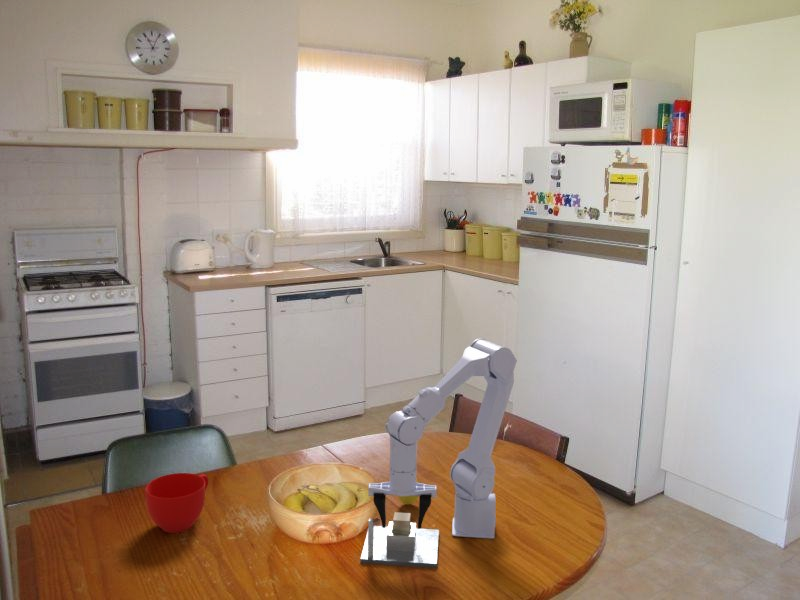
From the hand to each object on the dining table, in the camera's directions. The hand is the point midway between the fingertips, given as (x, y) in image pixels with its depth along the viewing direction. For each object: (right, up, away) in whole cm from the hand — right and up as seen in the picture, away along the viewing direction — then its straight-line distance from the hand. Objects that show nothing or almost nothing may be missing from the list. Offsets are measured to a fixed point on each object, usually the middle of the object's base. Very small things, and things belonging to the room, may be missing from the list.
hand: (401, 525), depth 153 cm
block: (0, -4, +1) cm, 4 cm away
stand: (0, -5, +1) cm, 5 cm away
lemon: (+2, -2, +21) cm, 21 cm away
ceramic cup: (-50, -3, +10) cm, 52 cm away
